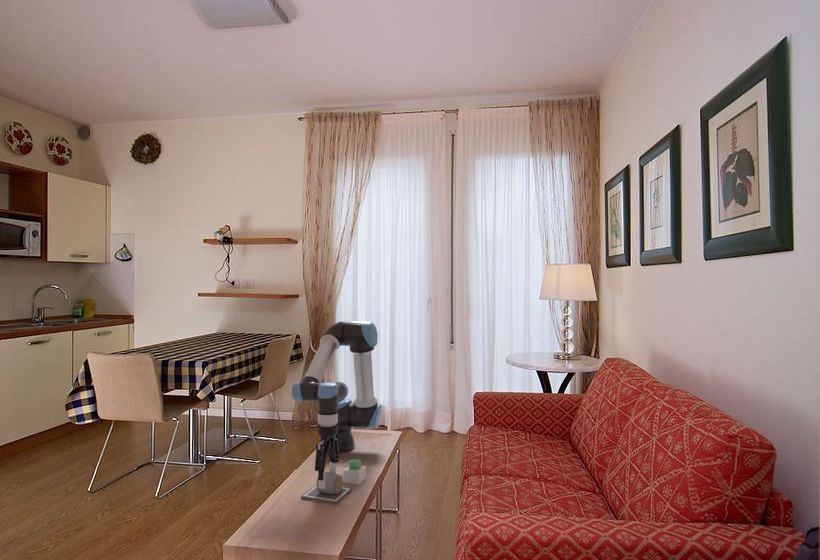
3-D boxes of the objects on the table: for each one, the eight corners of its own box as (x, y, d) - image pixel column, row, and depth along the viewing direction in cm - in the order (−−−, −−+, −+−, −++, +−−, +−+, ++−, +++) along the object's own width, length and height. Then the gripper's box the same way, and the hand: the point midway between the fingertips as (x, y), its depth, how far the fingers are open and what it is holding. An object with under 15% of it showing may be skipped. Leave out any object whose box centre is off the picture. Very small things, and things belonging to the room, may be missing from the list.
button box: (350, 476, 204) (350, 464, 204) (365, 478, 202) (366, 466, 202) (343, 482, 197) (343, 470, 197) (358, 484, 195) (358, 472, 195)
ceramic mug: (334, 498, 180) (335, 477, 180) (315, 495, 183) (315, 474, 183) (347, 487, 190) (348, 467, 190) (329, 484, 193) (329, 465, 193)
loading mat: (318, 485, 194) (318, 483, 194) (352, 490, 189) (352, 488, 189) (300, 498, 182) (301, 496, 182) (336, 504, 177) (336, 502, 177)
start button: (351, 463, 203) (351, 458, 203) (362, 464, 201) (362, 460, 201) (346, 467, 198) (346, 462, 198) (357, 469, 196) (357, 464, 196)
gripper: (331, 416, 197) (331, 472, 197) (305, 430, 178) (304, 493, 177) (348, 418, 195) (348, 475, 194) (323, 432, 175) (322, 496, 175)
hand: (327, 483), depth 186 cm, fingers closed on ceramic mug, 8 cm apart
